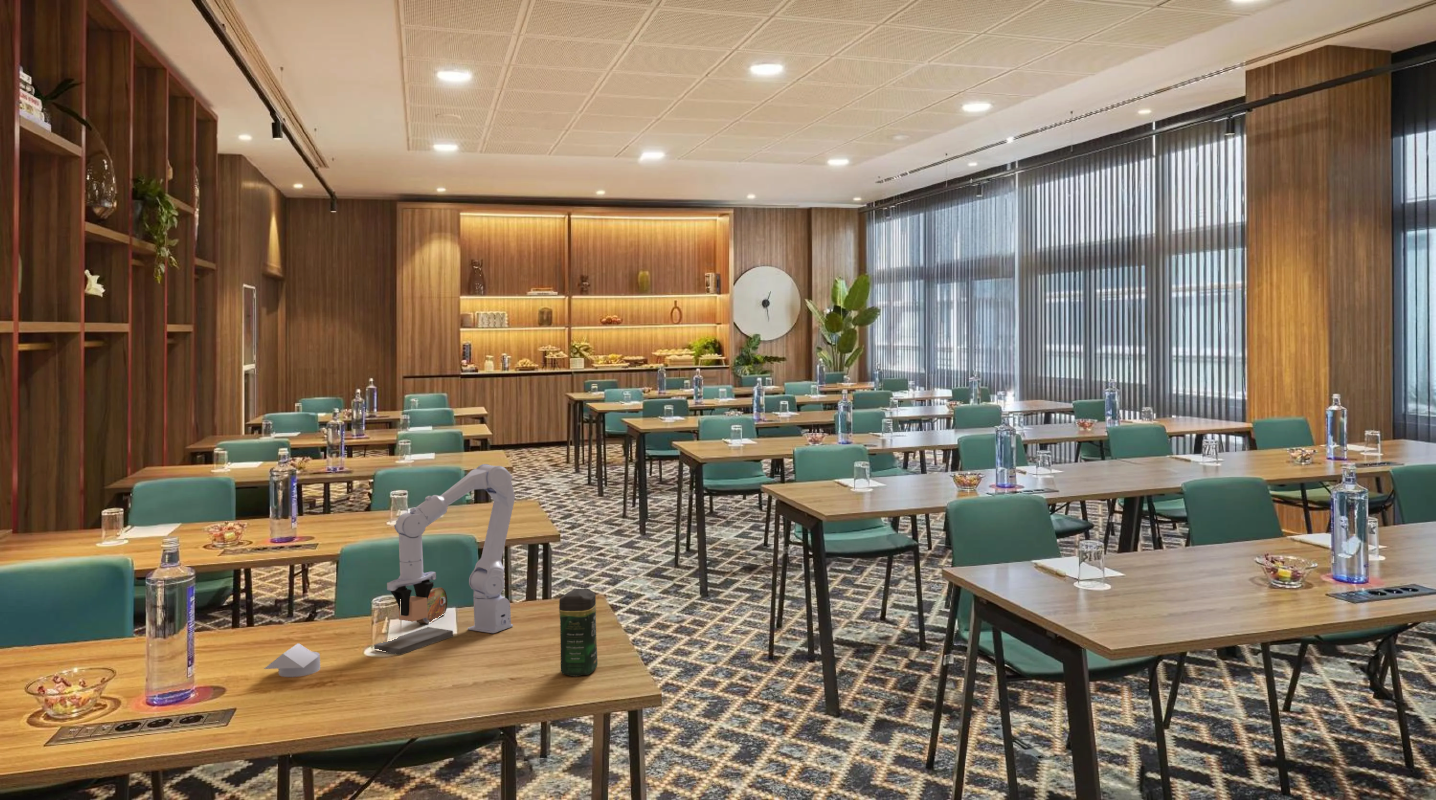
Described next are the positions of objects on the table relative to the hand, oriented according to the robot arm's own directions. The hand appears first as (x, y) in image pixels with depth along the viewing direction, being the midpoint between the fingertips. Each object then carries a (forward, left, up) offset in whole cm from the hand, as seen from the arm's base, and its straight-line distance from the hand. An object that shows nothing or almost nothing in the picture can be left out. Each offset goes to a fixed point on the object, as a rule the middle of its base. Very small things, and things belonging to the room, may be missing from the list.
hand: (413, 612), depth 249 cm
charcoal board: (0, 0, -8) cm, 8 cm away
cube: (0, 0, -1) cm, 1 cm away
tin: (+14, -19, -8) cm, 25 cm away
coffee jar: (-54, 0, -8) cm, 54 cm away
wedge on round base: (+6, +30, -8) cm, 32 cm away
